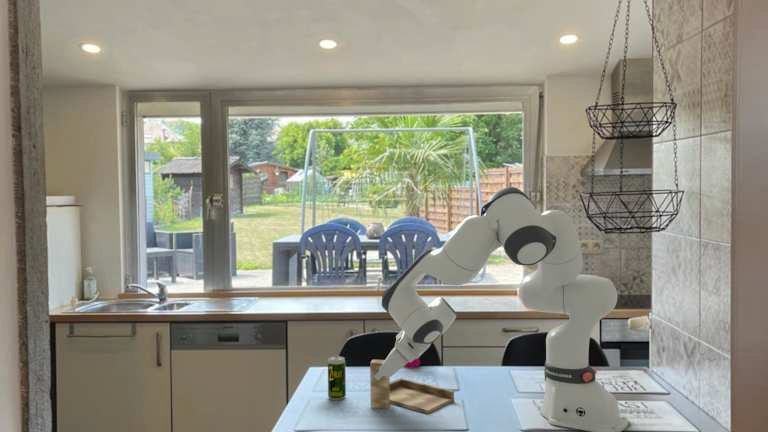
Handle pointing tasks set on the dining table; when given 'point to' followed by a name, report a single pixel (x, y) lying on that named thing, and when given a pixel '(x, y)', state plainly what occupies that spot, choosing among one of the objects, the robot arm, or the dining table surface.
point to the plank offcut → (379, 387)
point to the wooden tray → (419, 395)
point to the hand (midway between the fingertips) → (377, 375)
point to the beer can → (336, 378)
